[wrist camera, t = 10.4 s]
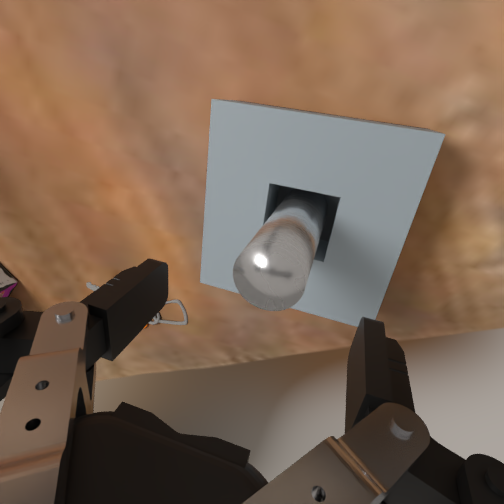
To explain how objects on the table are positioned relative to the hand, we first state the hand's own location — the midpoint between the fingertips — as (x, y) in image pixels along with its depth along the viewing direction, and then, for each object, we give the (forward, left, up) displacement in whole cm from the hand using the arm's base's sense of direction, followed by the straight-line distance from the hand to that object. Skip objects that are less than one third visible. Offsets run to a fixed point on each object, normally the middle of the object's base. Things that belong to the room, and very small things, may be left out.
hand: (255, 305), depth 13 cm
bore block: (0, 0, -16) cm, 16 cm away
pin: (0, 0, -15) cm, 15 cm away
